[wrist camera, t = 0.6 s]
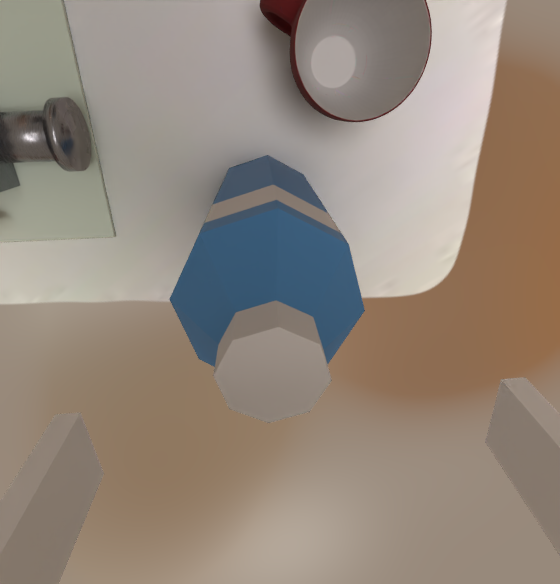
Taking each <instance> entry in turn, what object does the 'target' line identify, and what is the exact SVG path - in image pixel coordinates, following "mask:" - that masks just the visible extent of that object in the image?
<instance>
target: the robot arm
mask: <svg viewBox="0 0 560 584" xmlns="http://www.w3.org/2000/svg"><path fill="white" fill-rule="evenodd" d="M486 444H487V446H488V447H489V449H490V450H491V452H492V453H493V454H494V456H495V458H496V459H497V461H498V462H499V464H500V465H501V467H502V469H503V470H504V471H505V473H506V475H507V476H508V478H509V479H510V481H511V482H512V484H513V485H514V487H515V488H516V490H517V491H518V493H519V494H520V496H521V497H522V499H523V501H524V502H525V504H526V505H527V507H528V508H529V509H530V511H531V513H532V514H533V516H534V517H535V519H536V520H537V522H538V523H539V525H540V526H541V528H542V529H543V531H544V532H545V534H546V535H547V537H548V539H549V540H550V542H551V543H552V544H553V546H554V548H555V549H556V551H557V552H558V554H559V555H560V414H559V413H558V412H557V411H556V410H555V408H554V407H553V406H552V405H551V404H550V403H549V402H548V401H547V400H546V399H545V398H544V397H543V396H542V395H541V394H540V393H539V392H538V391H537V389H536V388H535V387H534V386H533V385H532V384H531V383H530V382H529V381H528V380H527V379H526V378H512V379H501V382H500V386H499V390H498V394H497V398H496V402H495V406H494V410H493V414H492V418H491V422H490V426H489V430H488V434H487V438H486ZM103 474H104V472H103V470H102V467H101V465H100V462H99V459H98V457H97V454H96V452H95V449H94V446H93V444H92V441H91V439H90V436H89V433H88V431H87V428H86V426H85V423H84V420H83V418H82V415H81V413H69V414H56V415H55V416H54V418H53V419H52V421H51V422H50V424H49V425H48V427H47V429H46V430H45V432H44V433H43V435H42V436H41V438H40V440H39V441H38V443H37V444H36V446H35V447H34V449H33V450H32V452H31V454H30V455H29V457H28V458H27V460H26V461H25V463H24V465H23V466H22V468H21V469H20V471H19V472H18V474H17V475H16V477H15V479H14V480H13V482H12V483H11V485H10V486H9V488H8V489H7V491H6V493H5V494H4V496H3V497H2V499H1V500H0V584H59V582H60V579H61V577H62V574H63V572H64V569H65V567H66V565H67V562H68V560H69V557H70V555H71V552H72V550H73V547H74V545H75V543H76V540H77V538H78V535H79V533H80V531H81V528H82V525H83V523H84V521H85V518H86V516H87V513H88V511H89V509H90V506H91V503H92V501H93V499H94V496H95V494H96V491H97V489H98V487H99V484H100V482H101V479H102V477H103Z"/></svg>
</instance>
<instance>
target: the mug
mask: <svg viewBox="0 0 560 584" xmlns="http://www.w3.org/2000/svg"><path fill="white" fill-rule="evenodd" d="M260 9H261V12H262V13H263V15H264V16H265V17H266V18H267V19H268V20H269V21H270V22H271V23H272V24H273V25H274V26H275V27H277V28H278V29H280V30H281V31H283V32H284V33H286V34H287V35H289V36H290V37H291V40H290V62H291V68H292V73H293V77H294V79H295V82H296V84H297V87H298V89H299V90H300V92H301V94H302V95H303V97H304V98H305V100H306V101H307V102H308V103H309V104H310V105H311V106H312V107H313V108H314V109H316V110H317V111H318V112H320V113H322V114H323V115H325V116H327V117H330V118H332V119H335V120H340V121H347V122H363V121H369V120H373V119H376V118H379V117H381V116H383V115H385V114H387V113H389V112H391V111H392V110H394V109H395V108H396V107H398V106H399V105H400V104H401V103H402V102H403V101H404V100H405V99H406V98H407V97H408V96H409V95H410V94H411V92H412V91H413V90H414V88H415V87H416V85H417V84H418V82H419V80H420V78H421V76H422V74H423V72H424V69H425V67H426V64H427V61H428V57H429V53H430V47H431V36H432V29H431V18H430V13H429V9H428V6H427V2H426V0H260Z"/></svg>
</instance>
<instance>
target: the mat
mask: <svg viewBox="0 0 560 584" xmlns="http://www.w3.org/2000/svg"><path fill="white" fill-rule="evenodd" d="M55 97H68V98H71V99H72V100H73V101H74V102H75V103H76V104H77V105H78V107H79V108H80V110H81V112H82V114H83V116H84V119H85V121H86V124H87V127H88V131H89V135H90V141H91V160H90V164H89V167H88V168H87V169H86V170H85V171H74V172H68V171H65V170H63V169H62V168H61V167H60V166H59V165H58V164H57V163H56V161H51V162H26V163H14V167H15V170H16V173H17V176H18V179H19V182H20V186H18V187H15V188H12V189H9V190H6V191H3V192H0V242H20V241H42V240H64V239H86V238H107V237H115V236H116V234H115V229H114V225H113V221H112V216H111V212H110V207H109V203H108V198H107V194H106V189H105V185H104V180H103V176H102V171H101V167H100V162H99V158H98V154H97V149H96V145H95V140H94V136H93V131H92V127H91V122H90V118H89V113H88V109H87V104H86V100H85V95H84V91H83V86H82V82H81V78H80V73H79V69H78V64H77V60H76V55H75V51H74V46H73V42H72V37H71V33H70V28H69V24H68V19H67V15H66V10H65V6H64V2H63V0H0V112H4V111H32V110H43V107H44V104H45V102H46V101H47V100H48V99H49V98H55Z"/></svg>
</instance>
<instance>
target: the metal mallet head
mask: <svg viewBox="0 0 560 584" xmlns="http://www.w3.org/2000/svg"><path fill="white" fill-rule="evenodd" d="M90 160H91V141H90V135H89V131H88V127H87V124H86V121H85V119H84V116H83V114H82V112H81V110H80V108H79V107H78V105H77V104H76V103H75V102H74V101H73V100H72V99H71V98H68V97H55V98H49V99H48V100H47V101H46V102H45V104H44V107H43V110H32V111H4V112H0V192H3V191H6V190H9V189H12V188H15V187H18V186H20V182H19V179H18V176H17V173H16V170H15V167H14V163H26V162H51V161H56V163H57V164H58V165H59V166H60V167H61V168H62V169H63V170H65V171H68V172H74V171H85V170H86V169H87V168H88V167H89V164H90Z"/></svg>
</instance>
